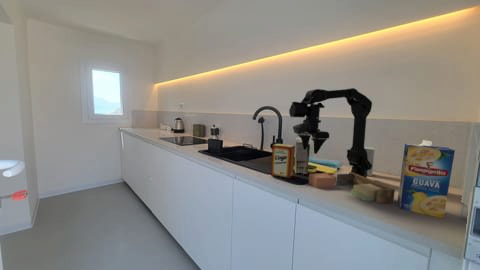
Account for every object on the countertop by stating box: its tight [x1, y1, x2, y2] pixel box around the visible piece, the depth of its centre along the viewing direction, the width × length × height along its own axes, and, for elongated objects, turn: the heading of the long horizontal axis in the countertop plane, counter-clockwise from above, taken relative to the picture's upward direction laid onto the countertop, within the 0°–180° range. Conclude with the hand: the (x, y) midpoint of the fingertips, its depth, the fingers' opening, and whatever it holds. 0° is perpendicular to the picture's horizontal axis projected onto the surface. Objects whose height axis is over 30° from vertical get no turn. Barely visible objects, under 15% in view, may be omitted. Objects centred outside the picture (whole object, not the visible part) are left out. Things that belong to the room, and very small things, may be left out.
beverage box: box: [396, 143, 456, 219], centre depth 66 cm, size 7×11×22 cm, turn 57°
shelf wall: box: [348, 171, 396, 204], centre depth 81 cm, size 6×21×5 cm, turn 11°
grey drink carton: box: [294, 141, 311, 175], centre depth 105 cm, size 9×6×16 cm
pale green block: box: [350, 184, 382, 202], centre depth 76 cm, size 9×7×4 cm
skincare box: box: [364, 146, 375, 177], centre depth 106 cm, size 8×6×15 cm
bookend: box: [335, 173, 354, 186], centre depth 90 cm, size 8×5×5 cm, turn 101°
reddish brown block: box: [308, 172, 336, 189], centre depth 87 cm, size 9×6×4 cm, turn 100°
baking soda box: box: [270, 143, 296, 179], centre depth 98 cm, size 10×6×16 cm
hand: (309, 151), depth 90 cm, fingers open, 9 cm apart
